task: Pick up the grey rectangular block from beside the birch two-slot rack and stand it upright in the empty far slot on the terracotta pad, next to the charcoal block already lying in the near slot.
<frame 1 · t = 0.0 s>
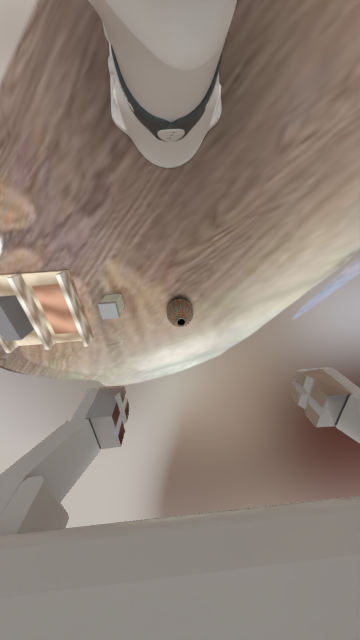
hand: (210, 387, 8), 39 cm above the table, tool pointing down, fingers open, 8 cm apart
slot rack: (40, 310, 47), on the table
charcoal block: (17, 313, 46), point 1 cm above the table, touching slot rack
grey rectangular block: (115, 301, 47), on the table
vase: (179, 306, 49), on the table
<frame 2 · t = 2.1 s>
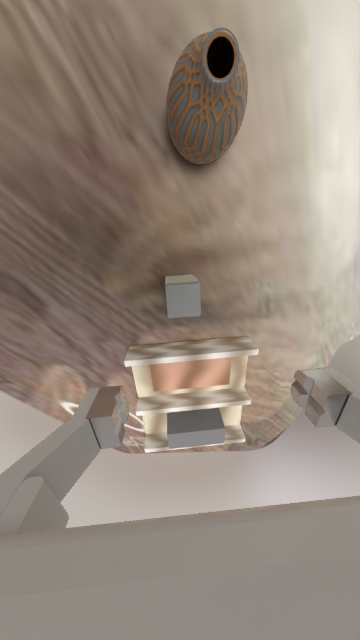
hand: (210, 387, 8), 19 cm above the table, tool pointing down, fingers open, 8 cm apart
slot rack: (191, 390, 34), on the table
charcoal block: (192, 413, 35), point 1 cm above the table, touching slot rack
grey rectangular block: (180, 289, 26), on the table
vase: (198, 134, 19), on the table
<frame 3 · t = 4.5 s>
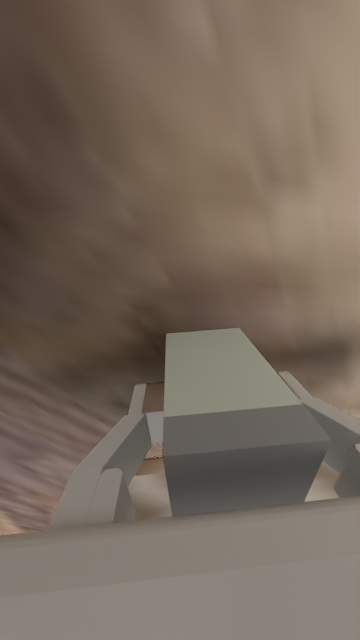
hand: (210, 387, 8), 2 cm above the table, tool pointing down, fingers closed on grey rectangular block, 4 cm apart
slot rack: (213, 516, 18), on the table
grey rectangular block: (203, 360, 10), on the table, touching gripper
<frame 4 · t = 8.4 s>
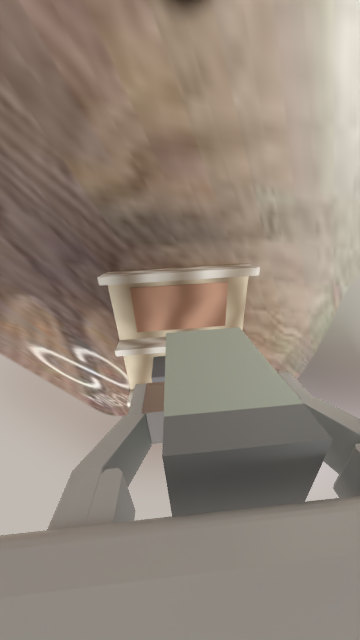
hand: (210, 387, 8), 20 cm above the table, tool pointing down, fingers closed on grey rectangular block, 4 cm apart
slot rack: (181, 335, 30), on the table
charcoal block: (183, 363, 31), point 1 cm above the table, touching slot rack
grey rectangular block: (203, 360, 10), point 18 cm above the table, touching gripper
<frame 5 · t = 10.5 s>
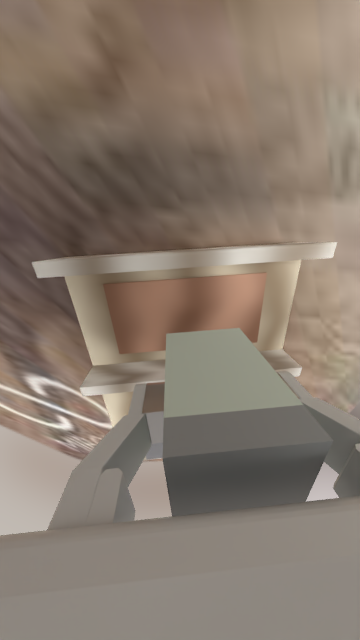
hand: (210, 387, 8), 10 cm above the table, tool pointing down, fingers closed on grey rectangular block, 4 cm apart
slot rack: (188, 355, 20), on the table
grey rectangular block: (203, 360, 10), point 8 cm above the table, touching gripper
when the fingers open (5 cm above the table, at t = 12.3 s): grey rectangular block drops 1 cm, resting on slot rack.
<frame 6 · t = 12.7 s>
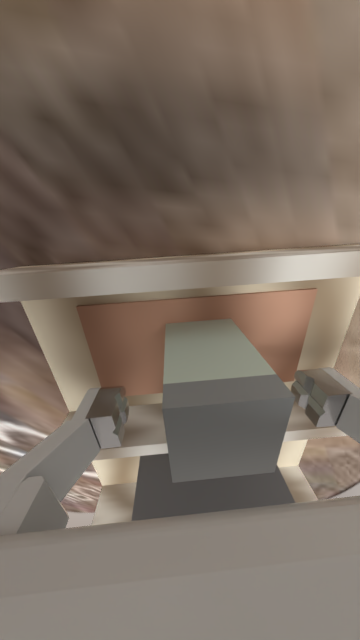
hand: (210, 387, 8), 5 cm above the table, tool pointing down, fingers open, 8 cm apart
slot rack: (198, 394, 15), on the table
charcoal block: (201, 446, 16), point 1 cm above the table, touching slot rack
grey rectangular block: (199, 348, 12), point 1 cm above the table, touching slot rack
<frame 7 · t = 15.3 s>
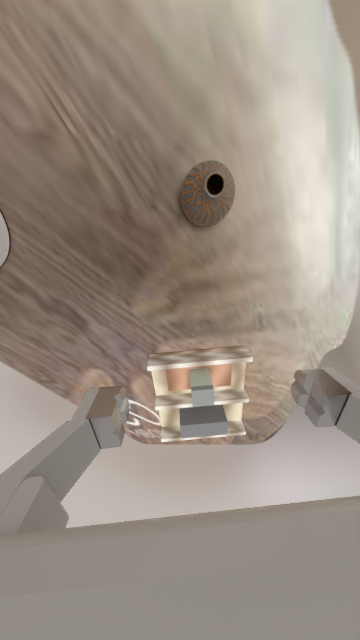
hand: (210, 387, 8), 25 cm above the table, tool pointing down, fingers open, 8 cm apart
slot rack: (199, 390, 41), on the table
charcoal block: (200, 410, 42), point 1 cm above the table, touching slot rack
grey rectangular block: (198, 375, 38), point 1 cm above the table, touching slot rack
vase: (202, 203, 27), on the table
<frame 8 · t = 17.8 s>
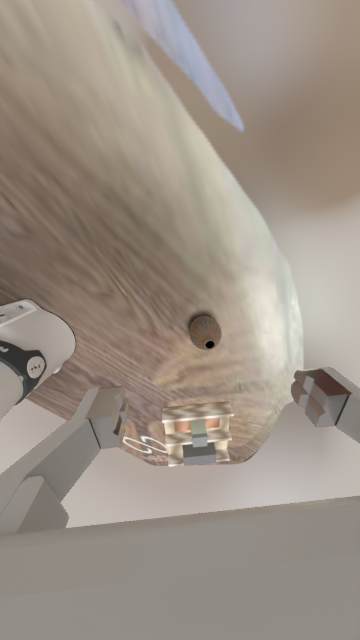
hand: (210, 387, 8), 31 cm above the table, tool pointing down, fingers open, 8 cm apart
slot rack: (196, 429, 57), on the table
charcoal block: (197, 442, 58), point 1 cm above the table, touching slot rack
grey rectangular block: (196, 421, 53), point 1 cm above the table, touching slot rack
vase: (202, 325, 42), on the table
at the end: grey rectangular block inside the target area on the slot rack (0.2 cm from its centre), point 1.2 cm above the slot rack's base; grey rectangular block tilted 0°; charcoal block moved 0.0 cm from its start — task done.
